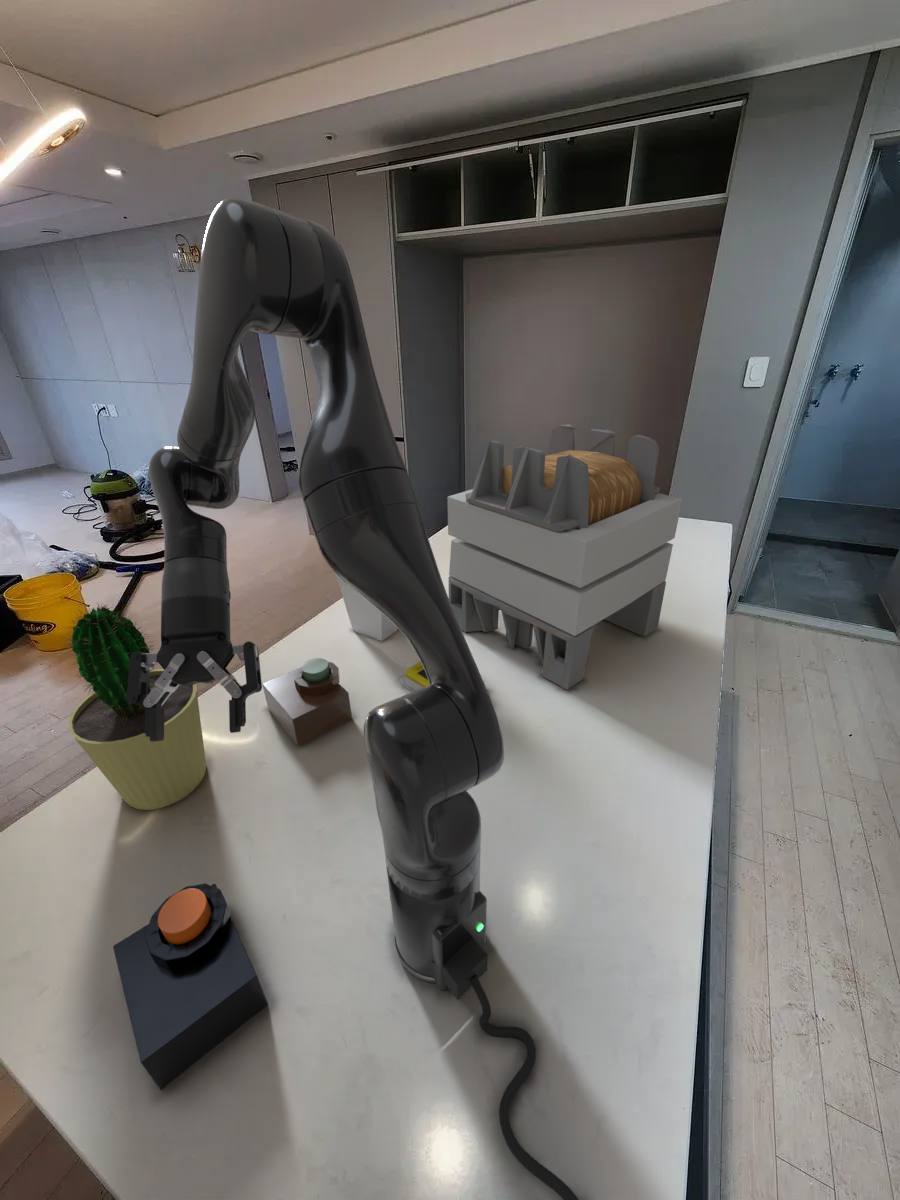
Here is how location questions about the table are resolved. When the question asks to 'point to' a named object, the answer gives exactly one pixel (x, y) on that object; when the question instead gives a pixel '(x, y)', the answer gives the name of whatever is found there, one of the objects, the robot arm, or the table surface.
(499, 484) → the transformer
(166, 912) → the knob front
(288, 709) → the block back
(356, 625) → the soap bottle
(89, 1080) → the table surface
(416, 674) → the emergency button
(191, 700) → the potted cactus
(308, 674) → the knob back
